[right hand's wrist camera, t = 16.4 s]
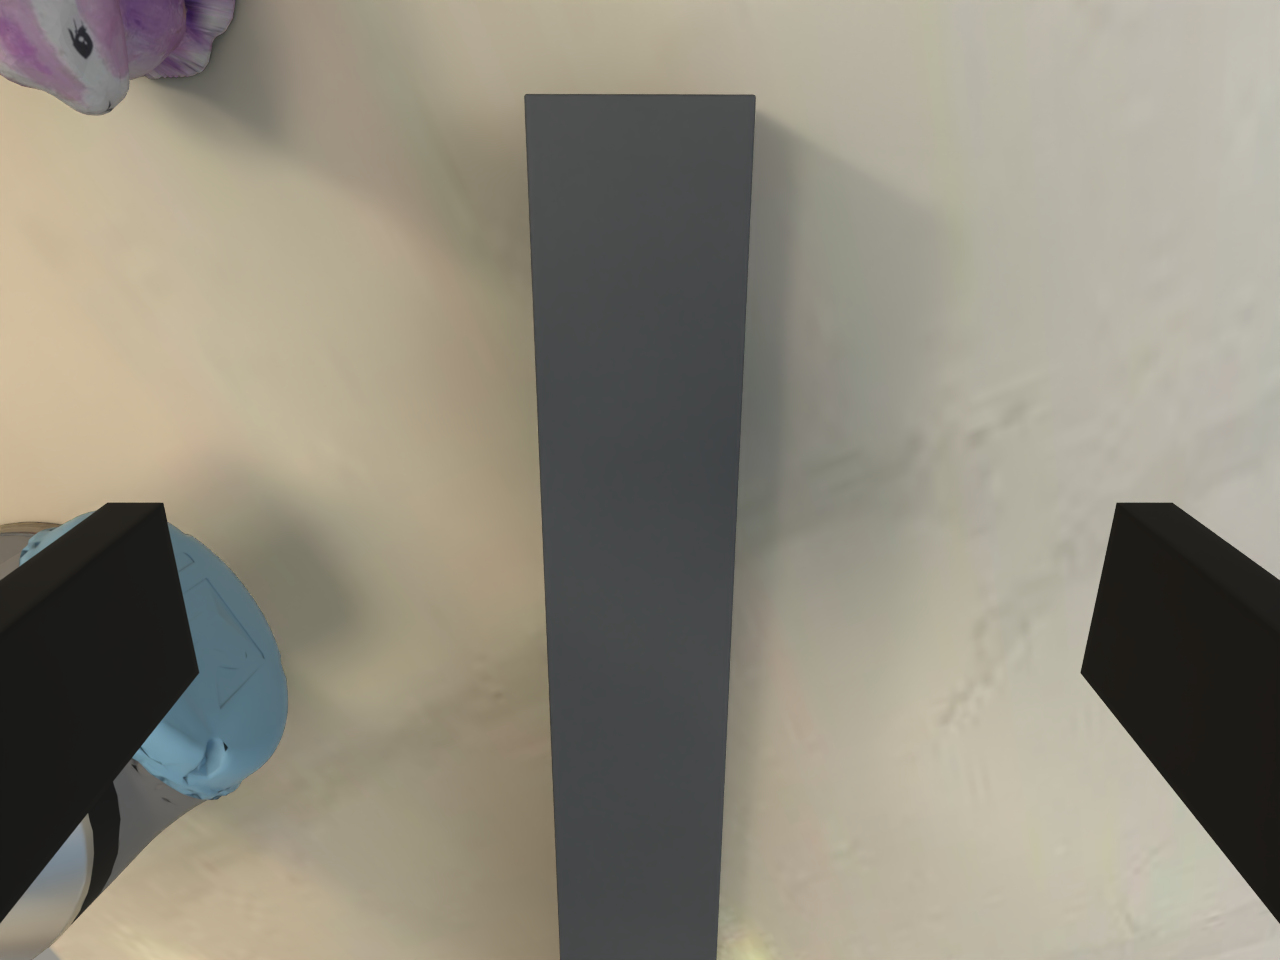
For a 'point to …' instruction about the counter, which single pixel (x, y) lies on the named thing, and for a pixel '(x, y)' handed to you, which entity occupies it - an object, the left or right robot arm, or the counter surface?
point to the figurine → (105, 45)
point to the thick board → (639, 499)
